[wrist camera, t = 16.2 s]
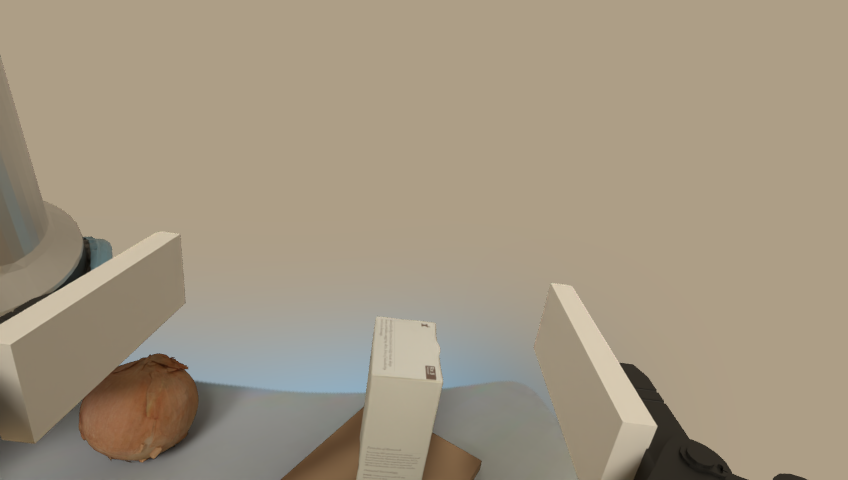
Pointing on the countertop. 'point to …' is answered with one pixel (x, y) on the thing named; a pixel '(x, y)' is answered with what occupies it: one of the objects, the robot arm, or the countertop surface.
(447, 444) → the coaster
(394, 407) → the skincare box
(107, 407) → the onion
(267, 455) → the countertop surface
